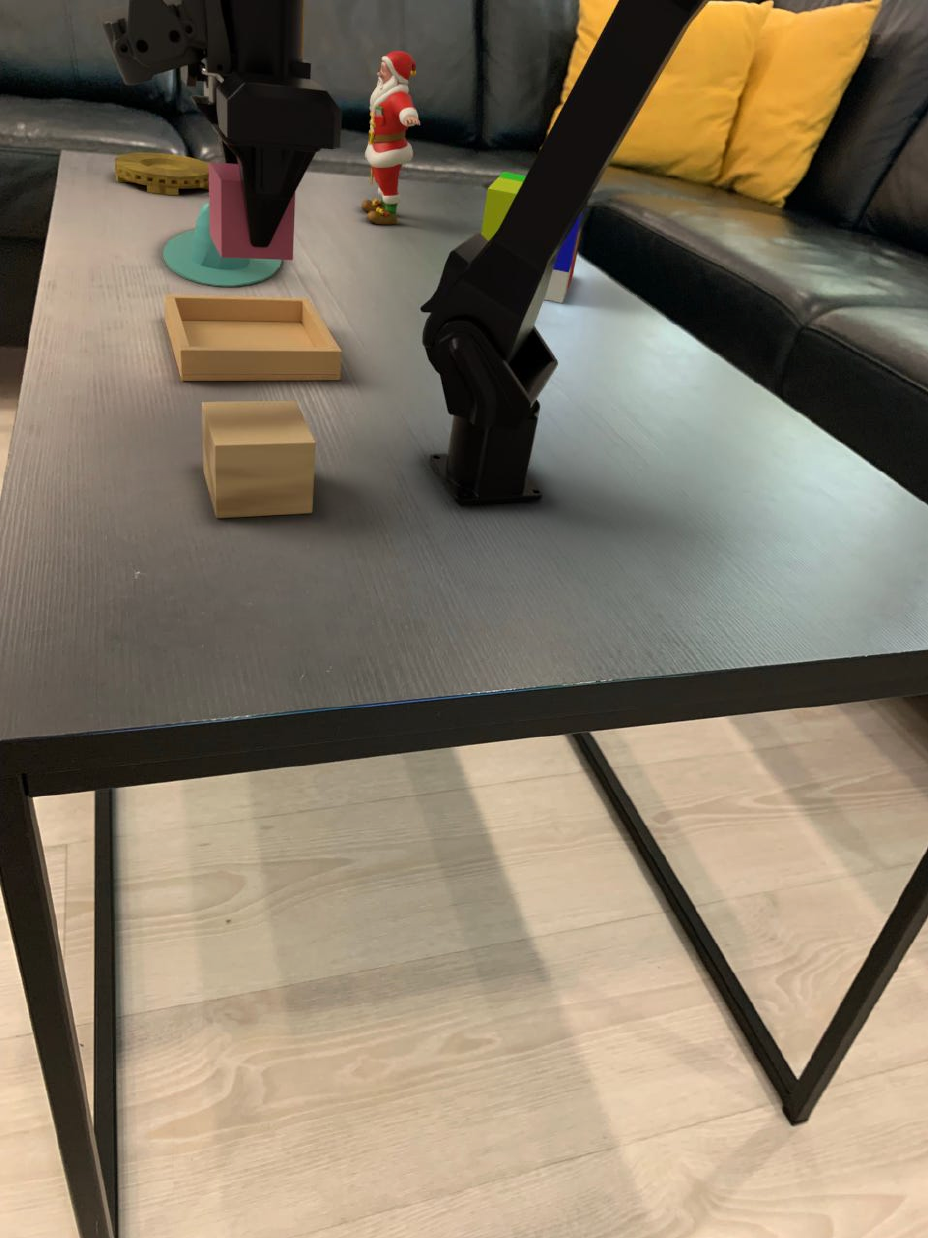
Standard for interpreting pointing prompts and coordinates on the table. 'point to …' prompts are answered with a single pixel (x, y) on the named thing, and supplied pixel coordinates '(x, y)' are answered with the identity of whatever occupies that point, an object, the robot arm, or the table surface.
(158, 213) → the table surface
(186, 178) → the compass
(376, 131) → the santa figurine
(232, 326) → the tray
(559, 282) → the puzzle toy
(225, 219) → the rose block
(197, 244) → the teal cone with brim
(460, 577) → the table surface
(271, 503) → the base block
